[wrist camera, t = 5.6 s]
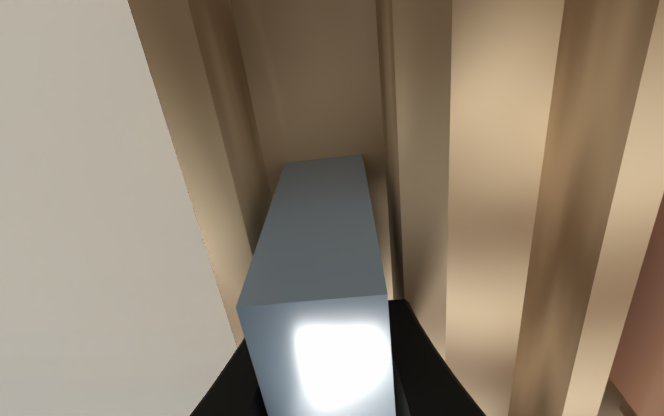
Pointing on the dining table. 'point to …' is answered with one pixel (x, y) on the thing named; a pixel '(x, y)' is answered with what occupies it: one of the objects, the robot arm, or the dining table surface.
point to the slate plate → (319, 297)
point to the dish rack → (441, 163)
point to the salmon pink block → (644, 333)
